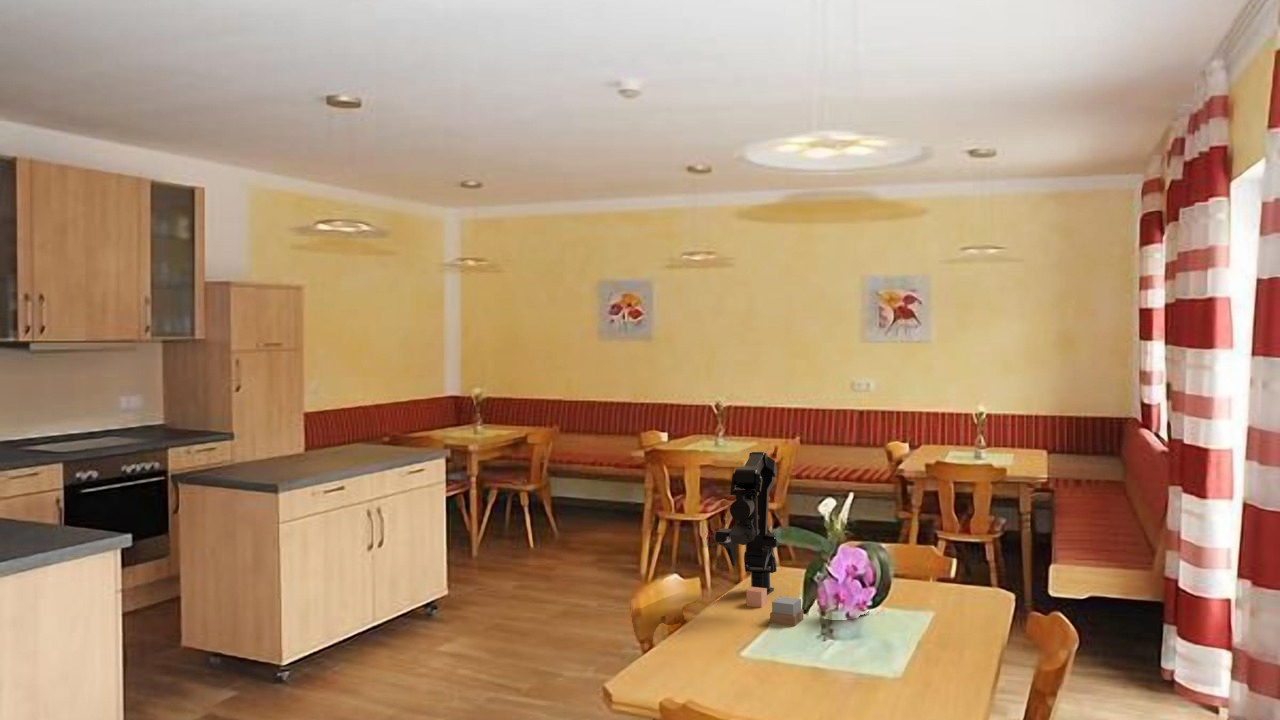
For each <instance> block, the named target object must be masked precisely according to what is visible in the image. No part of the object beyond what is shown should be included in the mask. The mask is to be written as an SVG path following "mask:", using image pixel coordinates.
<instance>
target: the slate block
mask: <svg viewBox="0 0 1280 720" xmlns="http://www.w3.org/2000/svg"><path fill="white" fill-rule="evenodd" d="M801 609H802V599H801V598H796V597H788V596H782V595H781V596H779V597H777V598H775V599H774V600H773V601H771V612H772V613H777V614H784V615H792V616H794V615H795V614H796V613H798V612H799V611H800V610H801Z"/></svg>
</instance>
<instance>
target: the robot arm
mask: <svg viewBox="0 0 1280 720" xmlns="http://www.w3.org/2000/svg"><path fill="white" fill-rule="evenodd" d="M777 476H778V465H777V464H776V461H775V460H774V459H773V458H771V457H770V456H768V454H767V452H764V451H752V452H749V455H748V459H747V460H746V462H745V464H744V465H743V466H739V467H736V469H735V470H734V472H733V473H732V477H731V485H730V493H729V494H730V496H735V499H734V501H733V502H732V503H731V505H730V507H729V513H730V515H731V517H732V518H733V519H734V520H735V524H734V526H733V527H732V528H724V527H722V528H721V529H718V530H717V531H715V533H714V537H713V538H714V542H716V543H717V542H718V545H720V546H722V547H723V548H724V549H725V550H726V553H727V555H728V557H729V561H730V564H731V565H732V567H735V566H736V560H737V558H736V557H737V556H736V555H737V553H736V551H737V550H736V545H741V546H746V549H745V551H744V553H743V559H744V560H743V562H744V571H745V573H747V572H749V573H750V588H751V587H759V588H767V595H769V594H770V593H771V592H773V591H774V590H775V587H771V574H774V573H776V572H777V562H776V558H775V556H774V552H773V551H774V549H775V548H776V547H777V548H778V547H779V546H780V545H781V544H782V543H778V542H777V540H776V539H774V537H776V536H775V535H776V534H775V535H774V533H775V532H768V523H769V504H770V503H769V501H770V500H769V499H770V491H771V489H772V488H773V487H774V485H775V483H776V482H775V481H776V478H777Z"/></svg>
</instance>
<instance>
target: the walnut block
mask: <svg viewBox="0 0 1280 720" xmlns="http://www.w3.org/2000/svg"><path fill="white" fill-rule="evenodd" d="M803 620H804V609H802V608H801V610H800V611H799V612H798V613H796V614H795V615H794V616H792V615H784V614H777V613H772V611H771V612H770V613H769V624H775V625H782V626H790V627H796V626H797V625H799V624H800V623H801V622H802V621H803Z"/></svg>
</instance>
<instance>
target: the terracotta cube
mask: <svg viewBox="0 0 1280 720" xmlns="http://www.w3.org/2000/svg"><path fill="white" fill-rule="evenodd" d="M767 604H768V594H767V588H759V587H751V586H750V588H748V589H747V590H746V606H747V607H753V608H754V607H755V608H763V607H765V606H766V605H767Z"/></svg>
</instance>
